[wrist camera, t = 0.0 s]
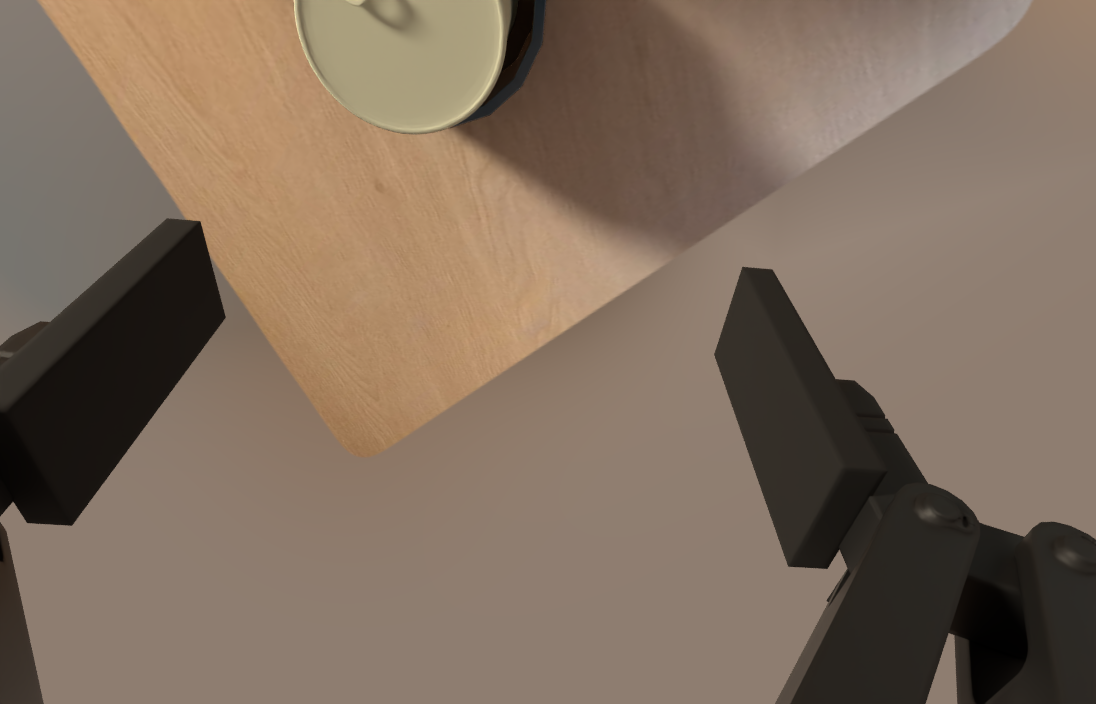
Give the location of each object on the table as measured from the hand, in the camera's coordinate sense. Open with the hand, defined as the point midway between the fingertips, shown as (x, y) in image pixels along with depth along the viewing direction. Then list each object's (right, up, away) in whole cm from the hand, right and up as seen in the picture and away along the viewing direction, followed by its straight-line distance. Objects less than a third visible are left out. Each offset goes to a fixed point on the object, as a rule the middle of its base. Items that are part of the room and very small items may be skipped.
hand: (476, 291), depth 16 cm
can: (-5, +20, +21) cm, 29 cm away
